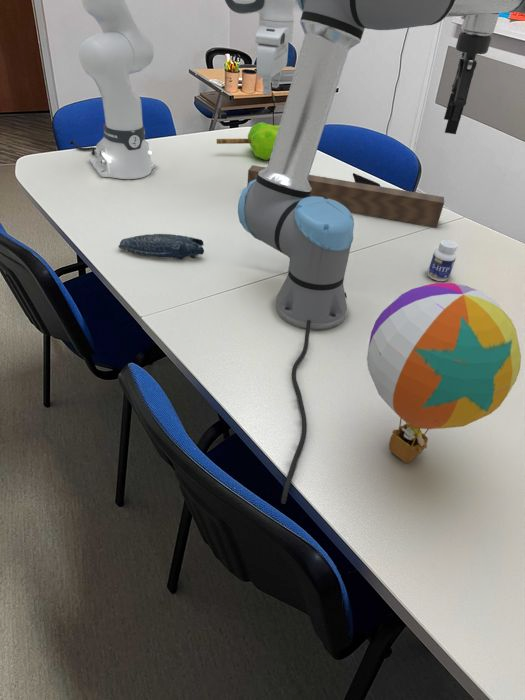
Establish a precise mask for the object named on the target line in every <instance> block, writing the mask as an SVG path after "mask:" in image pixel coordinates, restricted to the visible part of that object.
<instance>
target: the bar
mask: <svg viewBox="0 0 525 700" xmlns="http://www.w3.org/2000/svg"><path fill="white" fill-rule="evenodd" d="M266 167H267V166H266ZM266 167H265V166H260V165H254V164H253V165H251V166H250V167H249V168H248V169H247V185H248V184H249V183H250V182H251V181H253V180H255V179H257V176H258V173H259V171H261V170H263V169H265V168H266ZM308 181H309V183H310V186H311V188H312V191H311V194H310V197H312V196H317V197H323V198H324V199H332V200H334V201H337V202H339V203H340V204H342V205H344V206H345V207H346V208H347V209H348V210H349V211H350V212H351V214H358V215H362V216H369V217H374V218H381V219H385V220H392V221H397V222H403V223H409V224H414V225H419V226H420V225H421V226H425V227H432V228H438V225H439V221H440V219H441V216H442V213H443V208H444V204H445V197H444V196H440V195H434V194H428V193H421V192H417V191H416V192H415V191H410V190H404V189H398V188H394V187H393V188H392V187H387V186H381V185H380V186H375V185H368V184H362V183H356V182H355V181H350V180H344V179H338V178H332V177H325V176H320V175H313V174H309V176H308ZM247 187H248V186H247ZM247 187H246V188H247Z"/></svg>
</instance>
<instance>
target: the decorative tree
mask: <svg viewBox="0 0 525 700" xmlns="http://www.w3.org/2000/svg"><path fill="white" fill-rule="evenodd" d="M279 125H280V124H279ZM279 125H278V124H277V125H274V124H269V123H266V122H264V121H263V122H262V121H261V122H258V123H256V124H253V125H252V126H251V127H250V129H249V132H248V134H247V138H216V144H217V145H229V144H230V145H232V144H233V145H234V144H239V145H241V144H243V145H244V144H249V146H250V148H251V150H252V152H253V154H254V156H255V157H257V158H260V159H262V160H264V161H267V160H270V157H271V153H272V150H273V146H274V143H275V139H276V136H277V132H278V129H279Z"/></svg>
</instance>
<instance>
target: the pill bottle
mask: <svg viewBox="0 0 525 700" xmlns="http://www.w3.org/2000/svg"><path fill="white" fill-rule="evenodd" d="M457 248H458V244H457V243H456V242H455V241H452V240H449V239H441V241H440V242H439V245H438V248H436V249H435V250H434V251H433V254H432V257H431V261H430V263H429V267H428V270H427V276H428V277H429V278H431V279H432V280H435V281H438V282H445V281H448V280H449V278H450V277H451V273H452V271H453V269H454V265H455V262H456V259H457V254H456V251H457Z"/></svg>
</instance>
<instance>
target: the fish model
mask: <svg viewBox="0 0 525 700" xmlns="http://www.w3.org/2000/svg"><path fill="white" fill-rule="evenodd" d="M203 246H204V241H203V240H202V239H200V238H196V237H192V236H186V235H180V234H178V235H177V234H172V233H153V234H150V233H149V234H148V233H147V234H140V235H135V236H130V237H126V238H122V239H121V241H119V244H118V249H121V250H123V251H126V252H128V253H132V254H135V255H140V256H143V257H144V256H145V257H150V258H163V259H165V258H170V259H175V260H183V259H185V258H188V257H190V258H191V259H195V258H196V257H198V256H199V255H203V254H204V252H205V250H204V247H203Z"/></svg>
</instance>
